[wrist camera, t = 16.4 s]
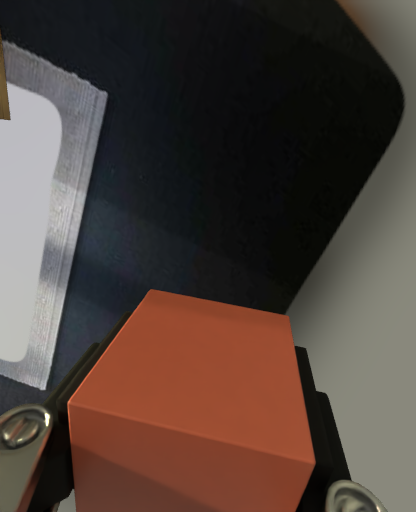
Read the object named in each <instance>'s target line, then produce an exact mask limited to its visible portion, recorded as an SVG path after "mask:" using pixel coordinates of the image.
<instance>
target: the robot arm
mask: <svg viewBox="0 0 416 512" xmlns="http://www.w3.org/2000/svg"><path fill="white" fill-rule="evenodd" d="M132 314H133V312H128V311H126V312H125V313H124V314H123V315H122V317H121V318H120V319H119V321H118V322H117V323H116V324H115V326H114V327H113V328H112V329H111V331H110V332H109V333H108V335H107V336H106V337H105V338H104V340H103V341H102V342H101V343H93V344H92V345H91V346H90V347H89V348H88V350H87V351H86V352H85V353H84V354H83V356H82V357H81V358H80V359H79V361H78V362H77V363H76V364H75V365H74V367H73V368H72V369H71V370H70V371H69V373H68V374H67V375H66V376H65V378H64V379H63V380H62V381H61V382H60V384H59V385H58V386H57V387H56V388H55V390H54V391H53V392H52V393H51V394H50V396H49V397H48V398H47V399H46V401H45V402H44V403H43V404H37V403H30V404H24V405H21V406H18V407H15V408H13V409H11V410H9V411H7V412H5V413H4V414H3V415H2V416H0V512H57V510H58V507H59V504H60V501H62V500H63V499H65V498H67V497H69V495H70V493H71V491H72V489H74V479H73V466H72V454H71V442H70V429H69V417H68V405H67V404H68V401H69V400H70V398H71V397H72V396H73V394H74V393H75V392H76V390H77V389H78V387H79V386H80V385H81V383H82V382H83V381H84V379H85V378H86V377H87V375H88V374H89V372H90V371H91V370H92V368H93V367H94V366H95V364H96V363H97V362H98V360H99V359H100V357H101V356H102V355H103V353H104V352H105V351H106V349H107V348H108V347H109V345H110V344H111V342H112V341H113V340H114V338H115V337H116V336H117V334H118V333H119V332H120V330H121V329H122V327H123V326H124V325H125V323H126V322H127V321H128V319H129V318H130V317H131V315H132ZM294 347H295V353H296V358H297V363H298V369H299V374H300V380H301V385H302V391H303V396H304V402H305V407H306V412H307V418H308V423H309V429H310V434H311V440H312V445H313V451H314V456H315V461H316V464H315V467H314V469H313V471H312V474H311V476H310V478H309V481H308V483H307V486H306V488H305V490H304V493H303V495H302V497H301V500H300V502H299V505H298V507H297V509H296V512H388V511H387V510H386V508H385V507H384V506H383V504H382V503H381V502H380V500H379V499H378V498H377V497H376V496H375V495H374V494H373V493H372V492H370V491H369V490H368V489H366V488H365V487H363V486H362V485H360V484H359V483H355V482H353V481H352V480H351V477H350V473H349V469H348V466H347V462H346V459H345V455H344V452H343V448H342V444H341V441H340V438H339V434H338V430H337V427H336V423H335V420H334V416H333V412H332V409H331V405H330V402H329V398H328V396H327V394H326V393H323V392H318V391H316V388H315V384H314V380H313V376H312V371H311V367H310V363H309V359H308V355H307V351H306V348H303V347H298V346H294Z"/></svg>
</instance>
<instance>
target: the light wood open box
mask: <svg viewBox="0 0 416 512" xmlns="http://www.w3.org/2000/svg"><path fill="white" fill-rule="evenodd" d="M0 119H4V120H10V111H9V102H8V93H7V84H6V75H5V66H4V57H3V48H2V39H1V30H0Z"/></svg>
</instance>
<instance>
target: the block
mask: <svg viewBox="0 0 416 512" xmlns="http://www.w3.org/2000/svg"><path fill="white" fill-rule="evenodd" d="M67 405H68V417H69V429H70V442H71V454H72V466H73V479H74V491H75V503H76V512H296V509H297V507H298V505H299V502H300V500H301V497H302V495H303V493H304V490H305V488H306V486H307V483H308V481H309V478H310V476H311V474H312V471H313V469H314V467H315V464H316V461H315V456H314V451H313V445H312V440H311V434H310V429H309V423H308V418H307V412H306V407H305V402H304V396H303V391H302V385H301V380H300V374H299V369H298V363H297V358H296V353H295V347H294V342H293V337H292V331H291V325H290V320H289V317H288V316H286V315H281V314H276V313H271V312H265V311H260V310H255V309H250V308H245V307H240V306H235V305H230V304H225V303H220V302H215V301H209V300H204V299H199V298H194V297H189V296H184V295H179V294H174V293H169V292H164V291H159V290H153V289H150V291H149V292H148V293H147V295H146V296H145V298H144V299H143V300H142V302H141V303H140V304H139V306H138V307H137V308H136V310H135V311H134V312H133V314H132V315H131V317H130V318H129V319H128V321H127V322H126V323H125V325H124V326H123V327H122V329H121V330H120V332H119V333H118V334H117V336H116V337H115V338H114V340H113V341H112V342H111V344H110V345H109V347H108V348H107V349H106V351H105V352H104V353H103V355H102V356H101V357H100V359H99V360H98V362H97V363H96V364H95V366H94V367H93V368H92V370H91V371H90V372H89V374H88V375H87V377H86V378H85V379H84V381H83V382H82V383H81V385H80V386H79V387H78V389H77V390H76V392H75V393H74V394H73V396H72V397H71V398H70V400H69V401H68V404H67Z"/></svg>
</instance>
